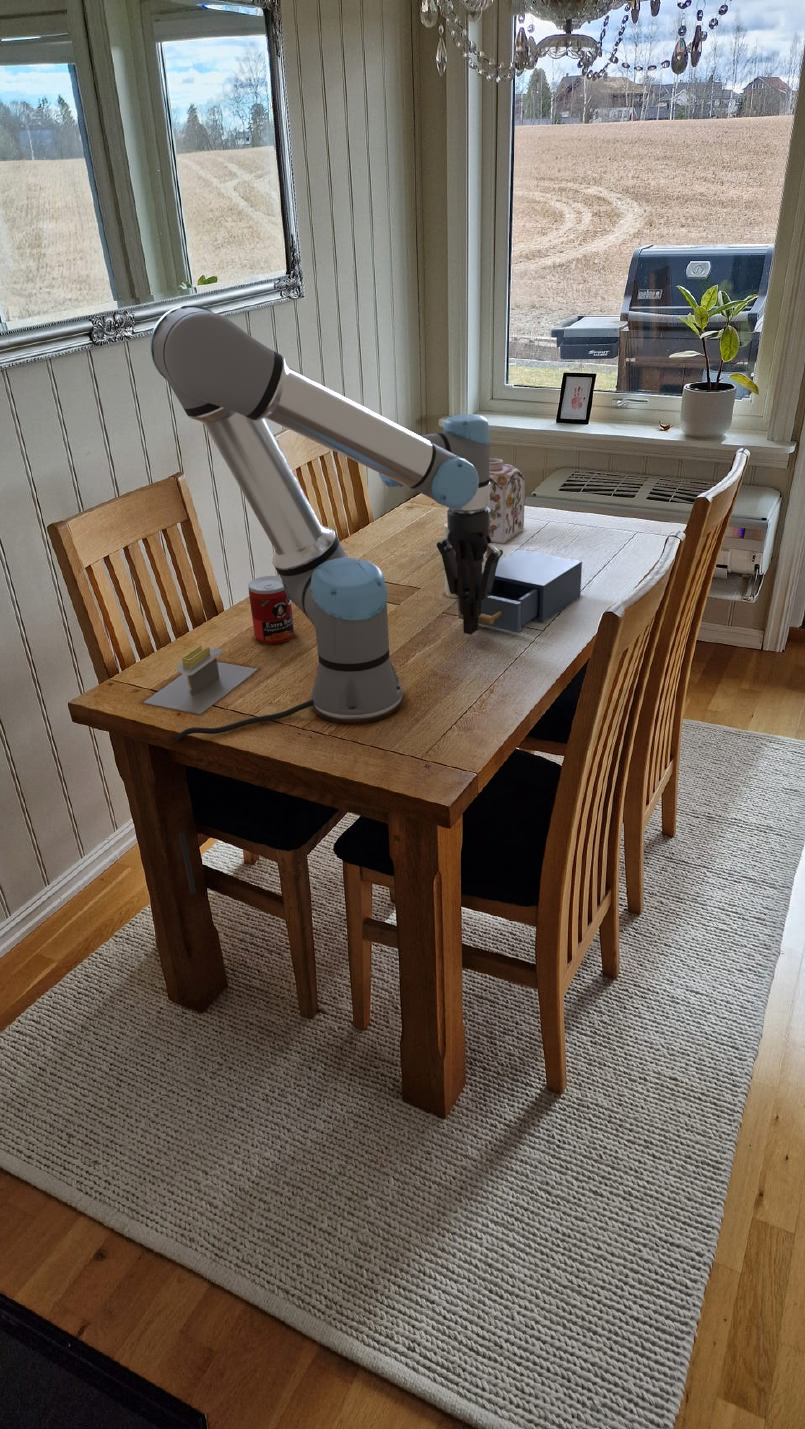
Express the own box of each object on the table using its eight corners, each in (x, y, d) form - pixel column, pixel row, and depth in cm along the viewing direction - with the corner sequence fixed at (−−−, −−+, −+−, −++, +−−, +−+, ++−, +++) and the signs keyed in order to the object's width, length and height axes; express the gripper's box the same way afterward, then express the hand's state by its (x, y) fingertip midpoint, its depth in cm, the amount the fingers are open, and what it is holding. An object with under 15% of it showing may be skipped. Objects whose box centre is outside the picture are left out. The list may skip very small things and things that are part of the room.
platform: (142, 702, 165) (135, 668, 162) (203, 659, 179) (198, 626, 176) (200, 714, 160) (194, 678, 157) (258, 668, 175) (254, 635, 171)
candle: (455, 599, 199) (454, 529, 192) (441, 594, 202) (439, 524, 195) (471, 593, 202) (470, 524, 195) (456, 588, 205) (455, 519, 198)
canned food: (266, 648, 182) (259, 593, 177) (247, 634, 188) (240, 581, 183) (301, 637, 186) (296, 584, 180) (282, 625, 192) (276, 572, 186)
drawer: (505, 641, 178) (505, 612, 175) (445, 626, 185) (444, 598, 182) (555, 607, 191) (556, 579, 188) (497, 594, 198) (497, 567, 196)
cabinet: (542, 622, 187) (543, 585, 183) (479, 607, 195) (478, 572, 191) (580, 596, 198) (582, 561, 194) (518, 583, 206) (519, 549, 202)
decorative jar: (460, 538, 233) (459, 463, 225) (481, 524, 242) (481, 452, 233) (505, 544, 228) (506, 468, 219) (525, 530, 236) (527, 456, 228)
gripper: (511, 506, 167) (511, 631, 179) (450, 497, 175) (453, 617, 186) (488, 518, 162) (489, 646, 174) (425, 508, 169) (430, 631, 181)
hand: (470, 631), depth 180 cm, fingers closed
